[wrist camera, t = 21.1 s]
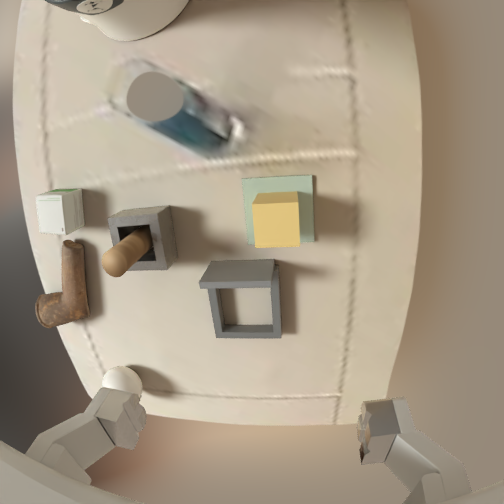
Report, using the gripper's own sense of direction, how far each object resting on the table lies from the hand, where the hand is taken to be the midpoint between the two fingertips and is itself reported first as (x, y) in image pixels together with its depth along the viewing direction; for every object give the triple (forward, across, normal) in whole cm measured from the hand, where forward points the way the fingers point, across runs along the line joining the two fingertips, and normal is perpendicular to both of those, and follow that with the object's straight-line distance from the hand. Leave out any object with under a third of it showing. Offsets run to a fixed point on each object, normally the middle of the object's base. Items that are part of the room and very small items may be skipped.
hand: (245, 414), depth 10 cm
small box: (+29, +30, -3) cm, 42 cm away
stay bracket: (+29, +17, +2) cm, 34 cm away
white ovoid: (+29, +28, +29) cm, 50 cm away
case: (+29, +5, +12) cm, 32 cm away
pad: (+29, 0, 0) cm, 29 cm away
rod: (+29, +17, +2) cm, 34 cm away
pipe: (+30, +34, +9) cm, 46 cm away
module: (+29, 0, 0) cm, 29 cm away
